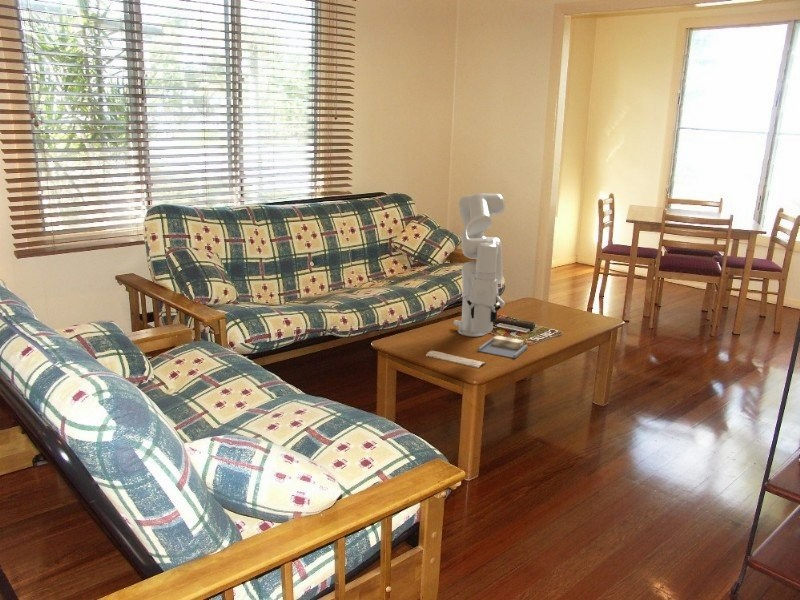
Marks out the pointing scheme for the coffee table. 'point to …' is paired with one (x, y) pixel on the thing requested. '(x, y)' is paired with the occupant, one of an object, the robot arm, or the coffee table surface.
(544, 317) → the coffee table surface
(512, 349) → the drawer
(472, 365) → the newspaper
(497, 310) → the robot arm
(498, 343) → the ledge
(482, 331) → the can
